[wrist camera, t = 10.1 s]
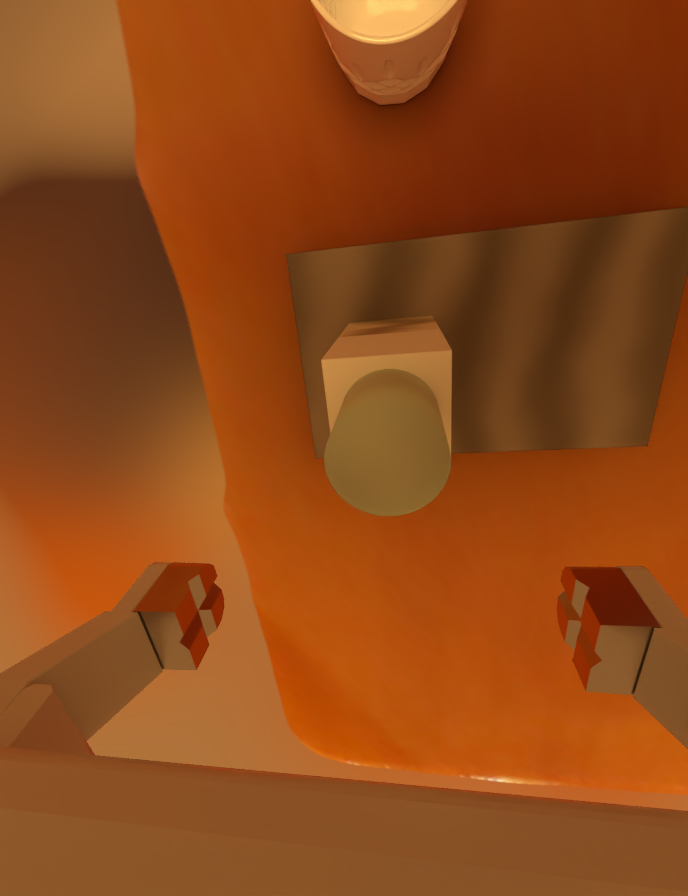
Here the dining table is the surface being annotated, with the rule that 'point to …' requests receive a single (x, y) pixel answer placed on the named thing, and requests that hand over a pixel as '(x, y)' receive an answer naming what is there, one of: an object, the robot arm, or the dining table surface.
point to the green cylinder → (388, 445)
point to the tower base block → (390, 326)
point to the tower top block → (390, 365)
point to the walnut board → (516, 324)
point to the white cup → (389, 42)
